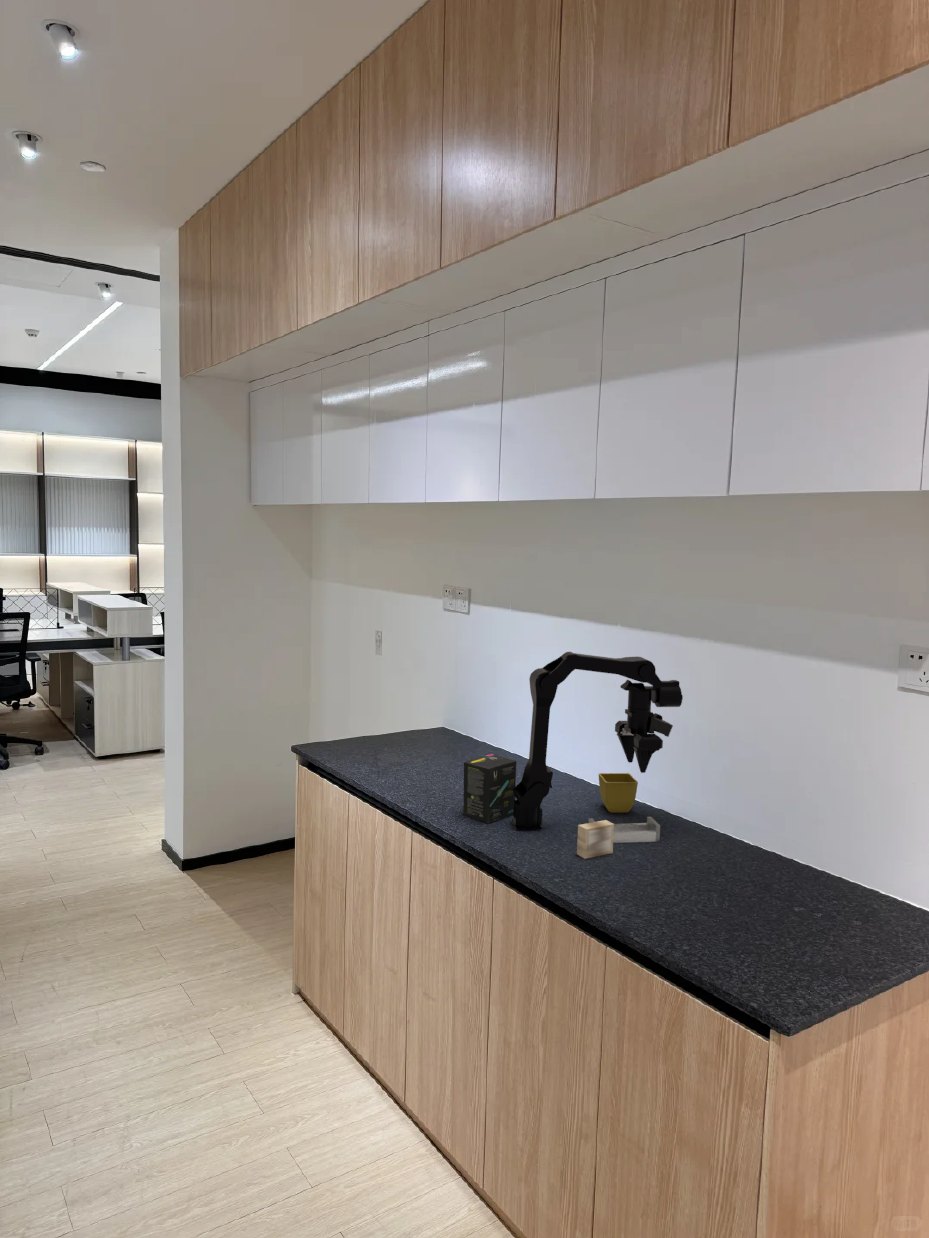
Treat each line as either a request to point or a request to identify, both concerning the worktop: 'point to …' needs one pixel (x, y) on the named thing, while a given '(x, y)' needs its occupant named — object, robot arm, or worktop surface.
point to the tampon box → (489, 788)
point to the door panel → (595, 839)
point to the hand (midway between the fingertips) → (636, 767)
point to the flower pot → (617, 791)
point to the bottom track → (636, 831)
